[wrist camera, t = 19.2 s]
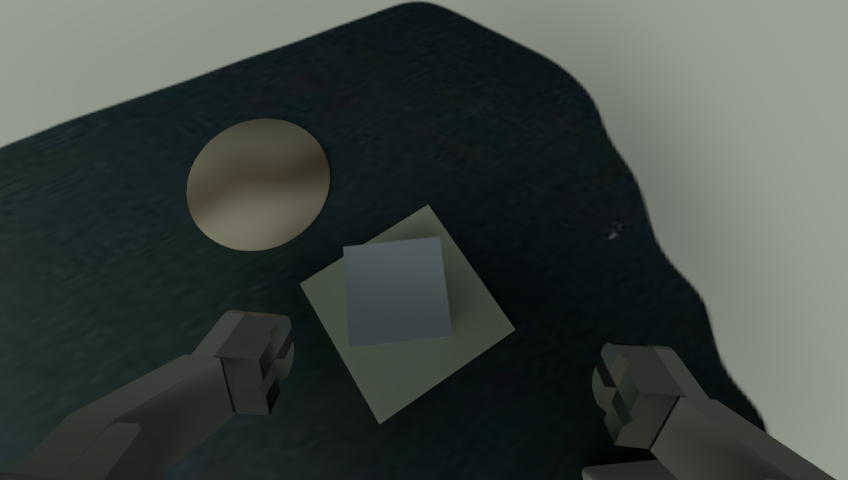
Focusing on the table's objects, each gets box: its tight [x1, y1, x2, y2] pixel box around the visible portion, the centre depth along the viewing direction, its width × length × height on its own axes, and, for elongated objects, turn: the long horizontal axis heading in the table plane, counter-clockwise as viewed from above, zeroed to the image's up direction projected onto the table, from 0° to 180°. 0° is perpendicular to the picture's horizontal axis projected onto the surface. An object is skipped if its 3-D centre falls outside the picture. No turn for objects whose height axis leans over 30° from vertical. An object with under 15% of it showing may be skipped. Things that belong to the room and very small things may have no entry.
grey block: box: [343, 236, 452, 347], centre depth 21 cm, size 5×5×7 cm
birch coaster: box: [187, 119, 330, 251], centre depth 27 cm, size 10×10×1 cm
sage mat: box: [300, 205, 515, 424], centre depth 25 cm, size 10×10×1 cm
